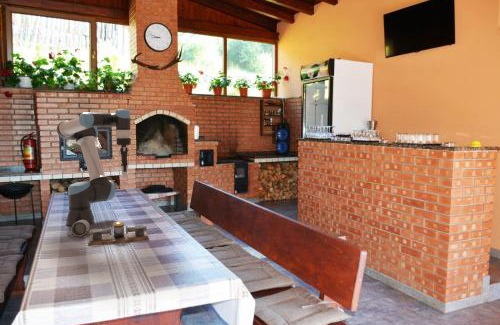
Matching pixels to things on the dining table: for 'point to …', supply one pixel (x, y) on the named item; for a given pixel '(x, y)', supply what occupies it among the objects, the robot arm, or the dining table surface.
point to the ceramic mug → (79, 228)
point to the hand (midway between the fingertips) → (124, 176)
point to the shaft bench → (109, 239)
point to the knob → (118, 229)
